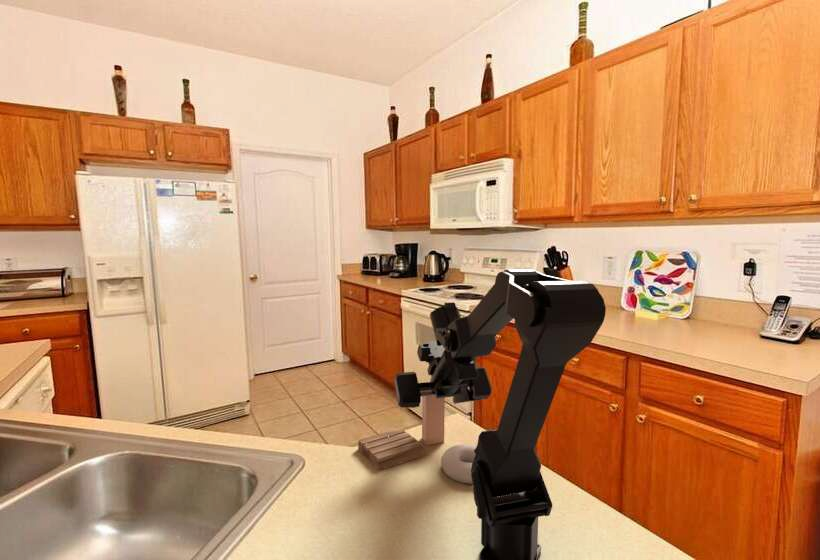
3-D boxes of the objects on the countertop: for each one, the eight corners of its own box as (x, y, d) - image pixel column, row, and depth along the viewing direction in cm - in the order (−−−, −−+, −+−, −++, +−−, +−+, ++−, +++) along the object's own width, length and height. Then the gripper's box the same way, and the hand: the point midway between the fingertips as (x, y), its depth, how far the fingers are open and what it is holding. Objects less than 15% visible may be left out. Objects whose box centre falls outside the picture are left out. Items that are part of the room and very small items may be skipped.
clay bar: (444, 442, 84) (444, 391, 83) (426, 444, 83) (426, 393, 82) (439, 435, 87) (439, 386, 86) (422, 438, 86) (422, 388, 85)
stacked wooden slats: (423, 455, 79) (423, 445, 79) (378, 470, 73) (378, 459, 73) (400, 437, 86) (400, 427, 86) (358, 449, 81) (358, 439, 81)
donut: (457, 494, 67) (507, 479, 71) (457, 474, 67) (507, 461, 71) (432, 464, 76) (477, 453, 80) (431, 447, 76) (476, 436, 80)
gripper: (486, 328, 80) (464, 365, 92) (396, 333, 75) (384, 372, 87) (505, 379, 73) (478, 413, 85) (406, 388, 68) (392, 422, 80)
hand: (433, 403), depth 84 cm, fingers open, 9 cm apart
